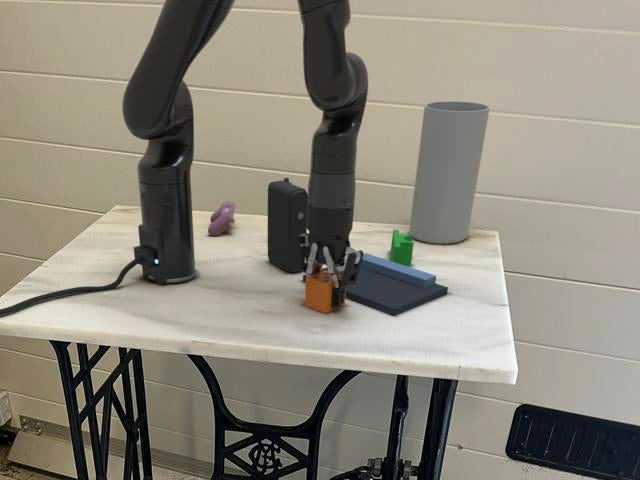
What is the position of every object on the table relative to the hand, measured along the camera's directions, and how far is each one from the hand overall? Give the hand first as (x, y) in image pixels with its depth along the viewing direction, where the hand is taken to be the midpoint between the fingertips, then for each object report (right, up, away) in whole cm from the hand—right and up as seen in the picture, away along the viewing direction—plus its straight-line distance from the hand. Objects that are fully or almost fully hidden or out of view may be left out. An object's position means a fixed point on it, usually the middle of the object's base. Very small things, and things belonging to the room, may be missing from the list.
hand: (325, 302), depth 127 cm
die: (0, -1, 0) cm, 1 cm away
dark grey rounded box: (-6, +12, +17) cm, 21 cm away
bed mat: (+10, +5, +7) cm, 13 cm away
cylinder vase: (+28, +23, +32) cm, 48 cm away
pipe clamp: (+17, +13, +19) cm, 29 cm away
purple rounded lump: (-20, +26, +36) cm, 48 cm away
